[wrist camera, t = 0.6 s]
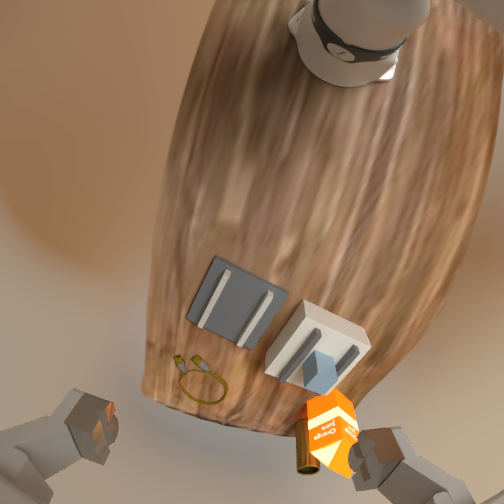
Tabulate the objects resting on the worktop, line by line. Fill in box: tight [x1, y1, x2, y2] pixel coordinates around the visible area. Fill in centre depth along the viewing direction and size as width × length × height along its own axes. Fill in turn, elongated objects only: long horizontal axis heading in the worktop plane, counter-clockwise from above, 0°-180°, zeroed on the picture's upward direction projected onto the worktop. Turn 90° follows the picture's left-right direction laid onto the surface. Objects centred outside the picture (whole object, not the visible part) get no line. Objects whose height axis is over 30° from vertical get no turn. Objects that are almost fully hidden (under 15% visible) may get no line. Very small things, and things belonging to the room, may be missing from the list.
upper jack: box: [264, 299, 371, 396], centre depth 50 cm, size 14×14×8 cm
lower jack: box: [186, 256, 289, 350], centre depth 51 cm, size 14×14×3 cm
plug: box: [302, 350, 338, 395], centre depth 45 cm, size 4×4×6 cm
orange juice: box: [307, 388, 359, 478], centre depth 50 cm, size 8×9×20 cm
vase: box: [295, 419, 320, 475], centre depth 56 cm, size 6×6×14 cm
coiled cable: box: [174, 354, 228, 405], centre depth 59 cm, size 12×16×2 cm
